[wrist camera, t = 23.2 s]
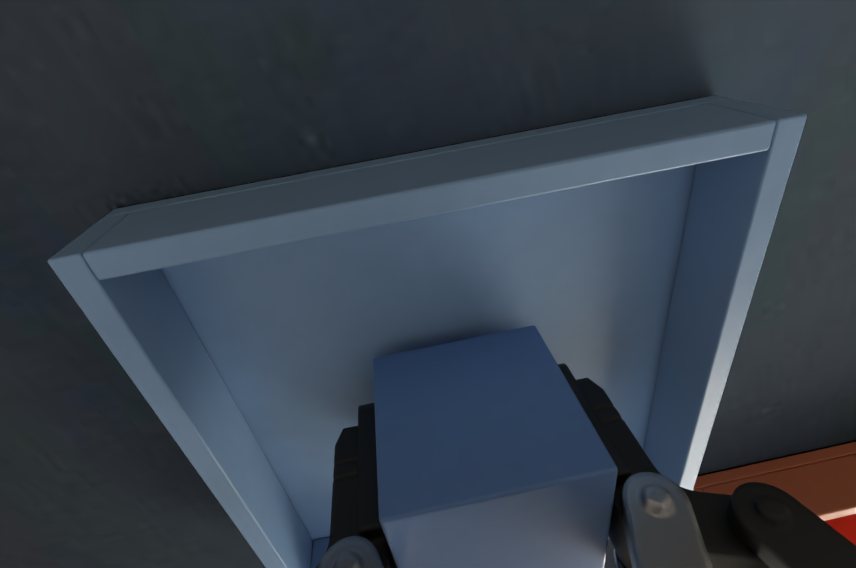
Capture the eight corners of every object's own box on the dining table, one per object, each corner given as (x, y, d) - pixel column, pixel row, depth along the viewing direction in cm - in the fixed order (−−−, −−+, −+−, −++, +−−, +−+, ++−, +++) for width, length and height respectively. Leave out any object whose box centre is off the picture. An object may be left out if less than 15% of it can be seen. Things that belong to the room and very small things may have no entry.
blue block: (535, 323, 12) (620, 468, 8) (537, 431, 14) (603, 583, 10) (371, 357, 12) (378, 521, 8) (401, 461, 14) (418, 625, 10)
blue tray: (716, 94, 10) (809, 113, 8) (645, 463, 18) (683, 522, 16) (113, 208, 10) (44, 260, 8) (303, 538, 17) (295, 610, 15)
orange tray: (985, 412, 19) (1062, 460, 17) (862, 567, 27) (906, 614, 25) (680, 479, 19) (720, 538, 17) (642, 618, 26) (667, 670, 24)
